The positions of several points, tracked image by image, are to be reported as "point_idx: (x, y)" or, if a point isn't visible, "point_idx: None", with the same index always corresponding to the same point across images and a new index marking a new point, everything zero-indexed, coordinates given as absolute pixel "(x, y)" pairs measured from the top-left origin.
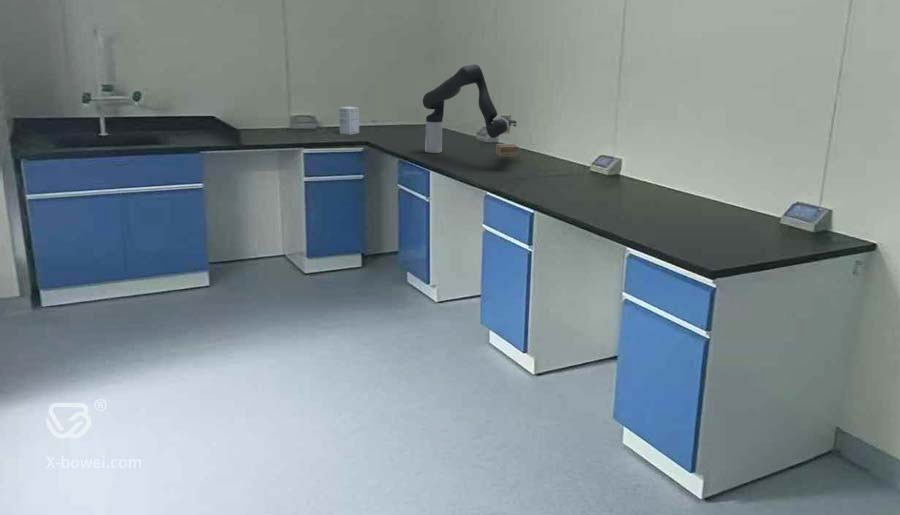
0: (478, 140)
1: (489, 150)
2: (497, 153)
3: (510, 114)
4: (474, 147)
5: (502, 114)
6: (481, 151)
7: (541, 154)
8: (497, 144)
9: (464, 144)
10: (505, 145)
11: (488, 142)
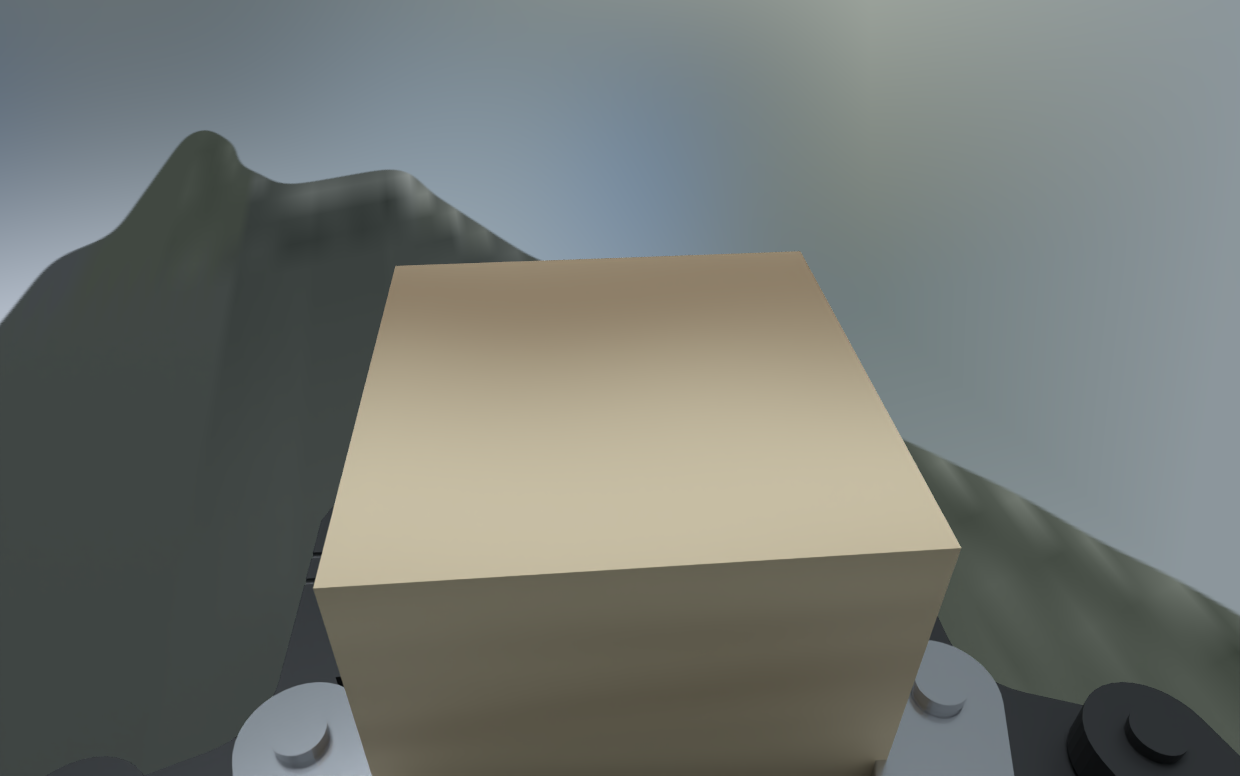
0: (240, 179)
1: (318, 490)
2: None
3: (816, 290)
4: (149, 399)
5: (396, 442)
6: (201, 583)
7: (973, 502)
8: None
9: (69, 312)
10: None
11: (319, 208)
